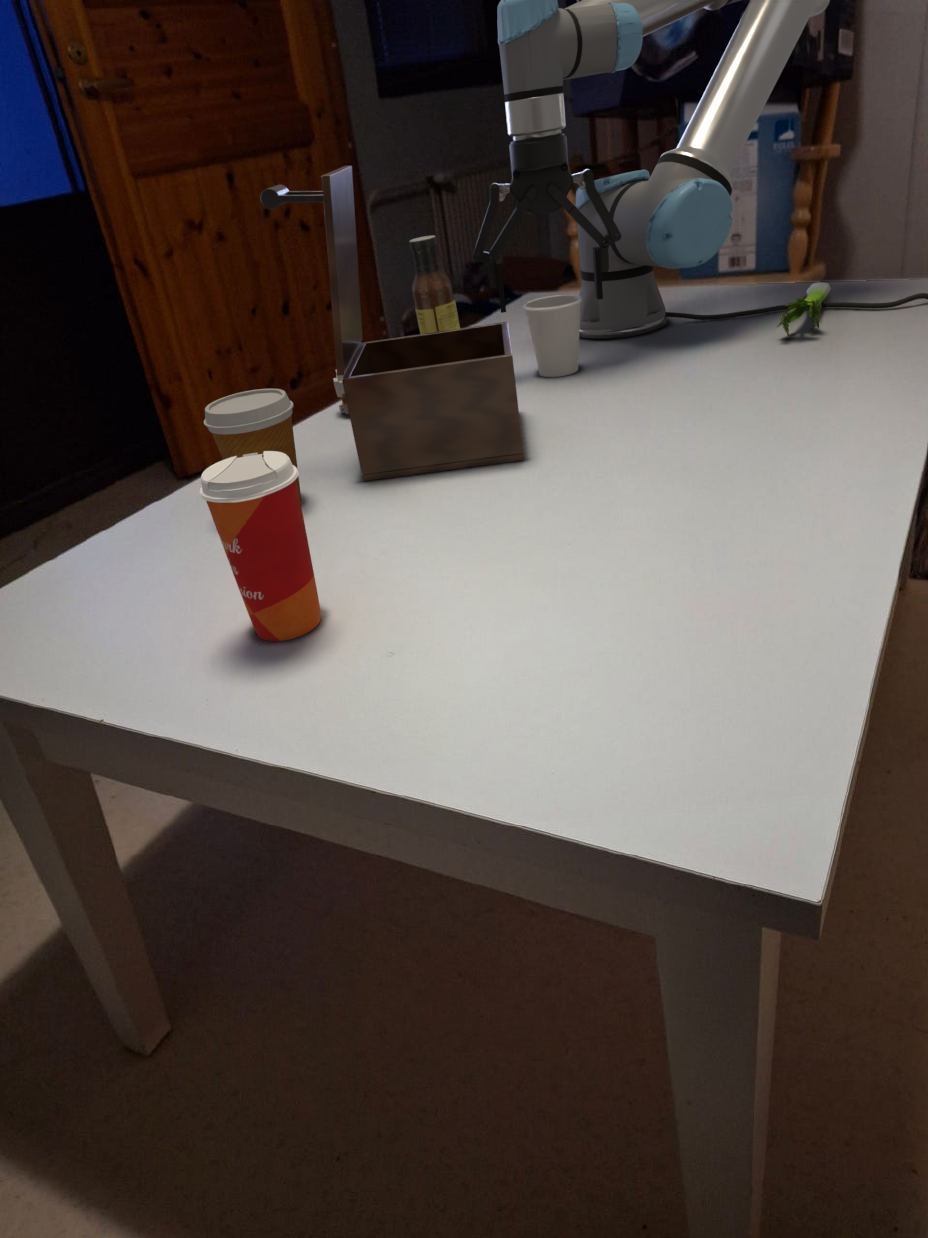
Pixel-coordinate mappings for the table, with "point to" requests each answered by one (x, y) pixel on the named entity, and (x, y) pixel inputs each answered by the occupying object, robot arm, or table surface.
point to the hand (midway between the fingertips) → (551, 304)
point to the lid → (335, 255)
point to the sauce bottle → (432, 289)
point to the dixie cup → (555, 333)
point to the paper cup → (265, 541)
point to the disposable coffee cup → (253, 424)
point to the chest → (434, 402)
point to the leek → (806, 305)
